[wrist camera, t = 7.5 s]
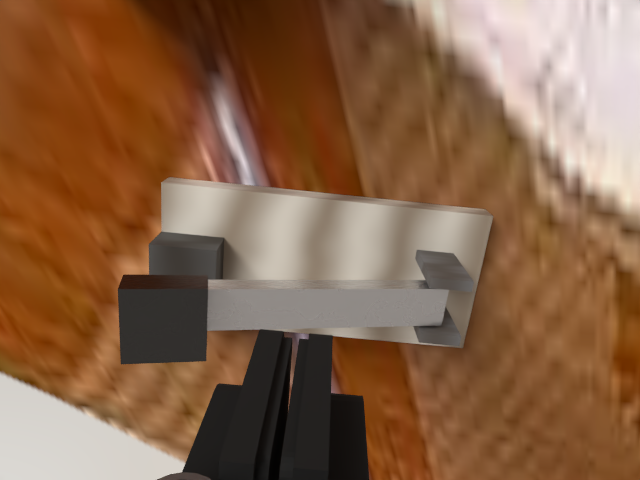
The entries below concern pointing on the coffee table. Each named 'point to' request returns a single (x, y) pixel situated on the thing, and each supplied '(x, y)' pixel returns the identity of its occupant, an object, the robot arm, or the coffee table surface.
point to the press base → (324, 245)
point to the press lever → (258, 310)
